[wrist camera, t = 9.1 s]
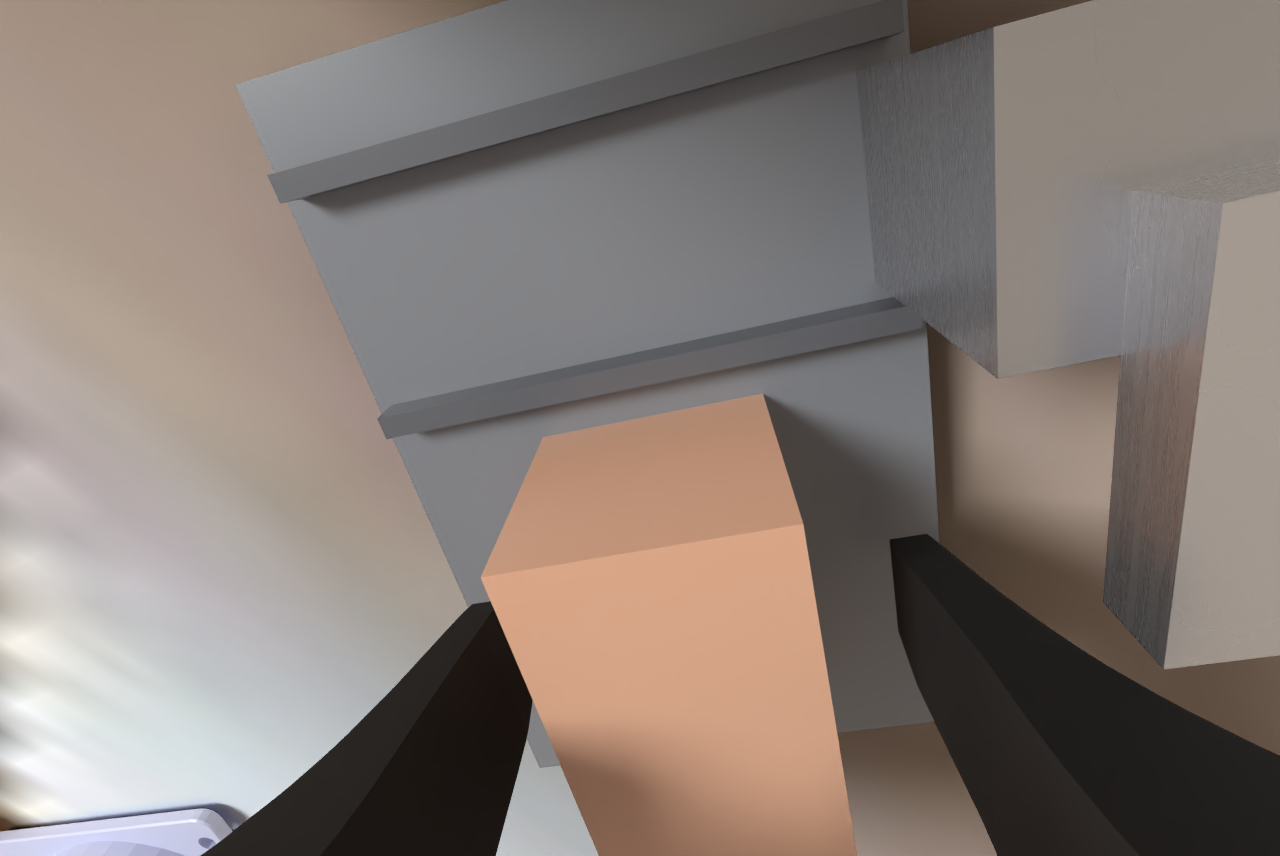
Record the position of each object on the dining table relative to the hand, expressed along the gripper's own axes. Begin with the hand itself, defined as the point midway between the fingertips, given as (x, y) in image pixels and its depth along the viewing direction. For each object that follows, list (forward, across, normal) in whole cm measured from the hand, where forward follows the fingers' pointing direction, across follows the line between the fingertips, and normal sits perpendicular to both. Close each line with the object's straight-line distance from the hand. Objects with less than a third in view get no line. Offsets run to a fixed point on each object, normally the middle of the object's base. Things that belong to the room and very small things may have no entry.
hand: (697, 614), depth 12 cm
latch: (+1, -6, -5) cm, 8 cm away
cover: (+1, 0, 0) cm, 1 cm away
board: (+2, 0, -2) cm, 3 cm away
